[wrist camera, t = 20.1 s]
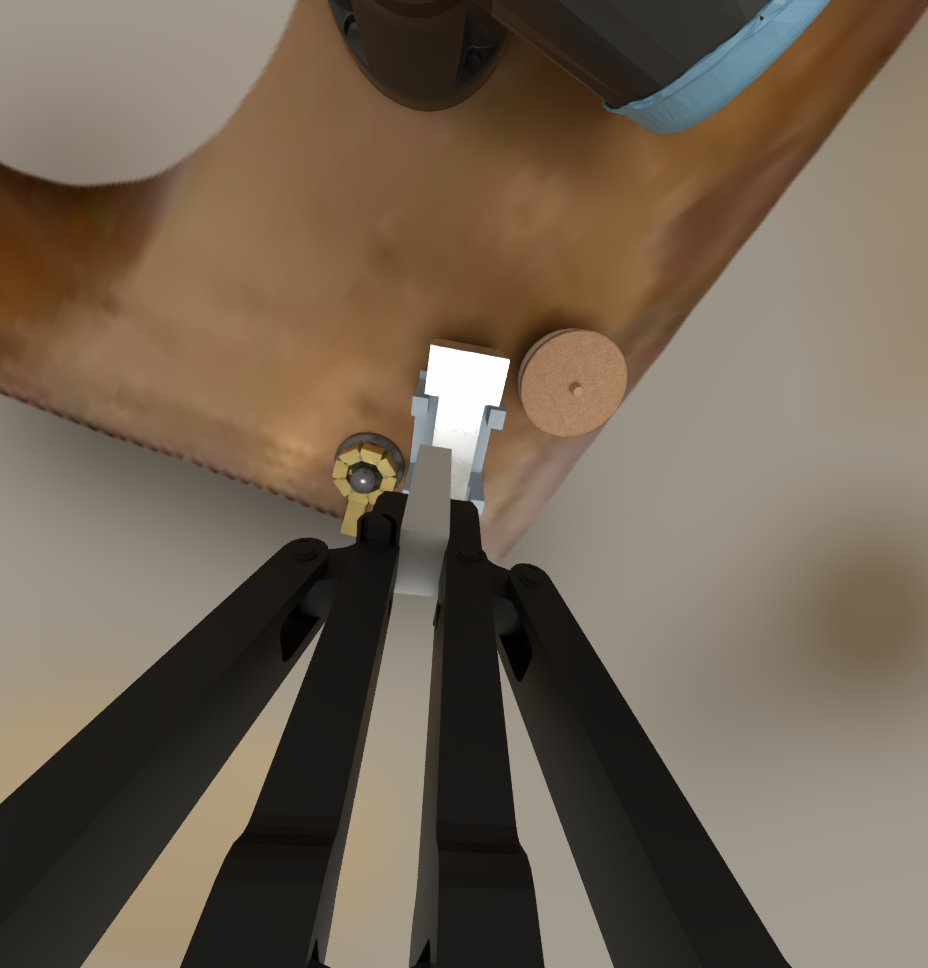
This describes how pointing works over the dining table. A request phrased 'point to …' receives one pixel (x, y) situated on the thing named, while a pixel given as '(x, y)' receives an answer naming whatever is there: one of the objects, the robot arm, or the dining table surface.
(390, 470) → the gold box wrench
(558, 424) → the lidded jar
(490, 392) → the white t-shaped plate
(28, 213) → the dining table surface
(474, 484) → the rack
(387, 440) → the nut base
